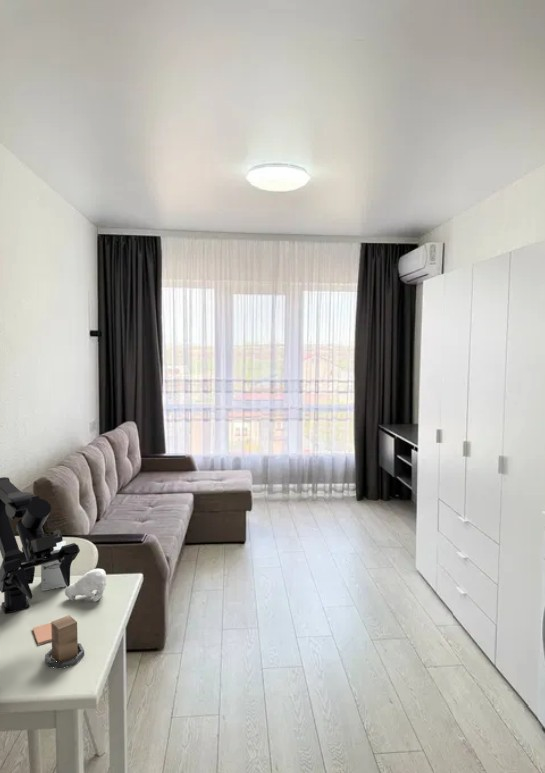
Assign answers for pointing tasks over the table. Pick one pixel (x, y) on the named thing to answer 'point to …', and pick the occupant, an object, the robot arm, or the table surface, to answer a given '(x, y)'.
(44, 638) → the terracotta mat
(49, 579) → the supplement box
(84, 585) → the white lumpy piece
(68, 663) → the metal ring
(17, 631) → the table surface
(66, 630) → the walnut block
